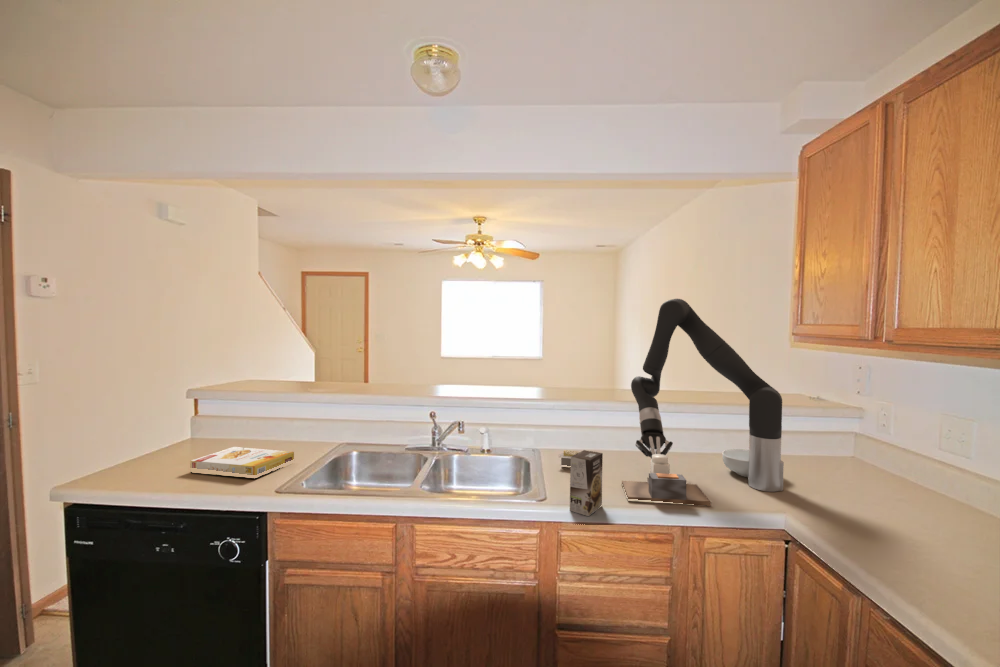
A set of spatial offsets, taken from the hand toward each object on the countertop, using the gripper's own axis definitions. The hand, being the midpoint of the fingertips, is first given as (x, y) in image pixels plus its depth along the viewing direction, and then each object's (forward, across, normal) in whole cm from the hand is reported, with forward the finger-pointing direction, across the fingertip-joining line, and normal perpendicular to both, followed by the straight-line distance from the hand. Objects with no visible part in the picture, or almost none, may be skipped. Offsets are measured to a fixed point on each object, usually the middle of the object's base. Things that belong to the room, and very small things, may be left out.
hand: (657, 467), depth 153 cm
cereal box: (+8, -149, +1) cm, 149 cm away
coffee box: (+21, -25, -12) cm, 35 cm away
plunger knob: (+6, 0, 0) cm, 6 cm away
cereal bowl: (-7, +35, +15) cm, 39 cm away
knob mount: (+11, 0, -3) cm, 11 cm away
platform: (-5, -28, +14) cm, 32 cm away
